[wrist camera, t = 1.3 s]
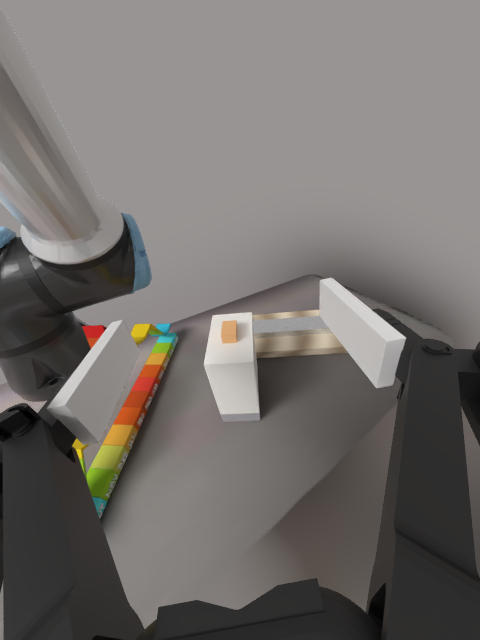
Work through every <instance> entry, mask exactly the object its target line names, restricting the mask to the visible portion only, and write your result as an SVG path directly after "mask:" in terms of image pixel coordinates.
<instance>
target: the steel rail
mask: <svg viewBox="0 0 480 640" xmlns="http://www.w3.org/2000/svg"><path fill="white" fill-rule="evenodd" d="M253 329H254V339H255V338H270V337H285V336H299V335H314V334H329V333H333V332H332V331H331V330H330V329H329V327H328V326H327V325H326V324H325V322H324V321H323V320H322V318H321V317H320V316H309V317H295V318H282V319H269V320H256V321H253Z"/></svg>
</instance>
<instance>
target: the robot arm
mask: <svg viewBox="0 0 480 640" xmlns="http://www.w3.org/2000/svg"><path fill="white" fill-rule="evenodd" d="M0 202H1V203H2V204H3V205H4V206H5V207H6V208H7V209H8V210H9V212H10V213H12V215H13V216H14V217H16V219H17V220H18V221H20V223H21V224H22V226H21V237H16V233H15V232H12V231H11V230H10V229H9V228H7V227H0V367H1V369H2V371H3V373H4V375H5V377H6V379H7V382H8V384H9V386H10V387H11V389H12V390H13V391H14V392H15V393H17V394H18V395H19V396H21V397H22V398H23V399H25V400H28V401H45V400H48V401H47V402H46V403H45V405H44V406H43V407H42V409H41V410H40V411H39V412H38V414H37V413H36V412H35V411H34V410H33V409H32V408H31V407H30V406H29V405H28V404H26V403H21V404H18V405H15V406H12V407H10V408H8V409H7V410H5V411H4V412H2V413H0V591H1V587H2V582H3V592H4V640H480V578H479V575H478V573H477V569H476V563H475V552H474V541H473V531H472V519H471V509H470V499H469V487H468V476H467V466H466V455H465V444H464V434H463V423H462V412H461V407H462V409H463V411H464V413H465V415H466V417H467V419H468V421H469V424H470V426H471V428H472V430H473V432H474V434H475V437H476V438H477V440H478V443H479V445H480V342H479V343H478V345H477V347H476V349H475V350H469V349H453V348H452V347H451V346H450V345H448V344H446V343H444V342H442V341H438V340H434V339H423V338H422V337H420V336H419V335H418V334H416V333H415V332H414V331H412V330H411V329H410V328H408V327H407V326H406V325H404V324H402V323H401V322H400V321H399V320H398V319H395V317H393V316H392V315H391V314H389V313H388V312H386V311H383V310H380V309H373V310H371V309H370V308H369V307H367V306H366V305H365V304H364V303H362V302H361V301H360V300H359V299H357V298H356V297H355V296H354V295H353V294H351V293H350V292H349V291H348V290H346V289H345V288H344V287H343V286H341V285H340V284H339V283H337V282H336V281H335V280H334V279H333V278H328V279H323V280H320V312H319V316H320V317H321V318H322V320H323V321H324V322H325V324H326V325H327V326H328V327H329V329H330V330H331V331H332V332H333V334H334V335H335V336H336V338H337V339H338V340H339V341H340V343H341V344H342V345H343V346H344V348H345V349H346V350H347V352H348V353H349V354H350V355H351V357H352V358H353V359H354V360H355V362H356V363H357V364H358V366H359V367H360V368H361V369H362V371H363V372H364V373H365V374H366V376H367V377H368V378H369V380H370V381H371V382H372V383H373V385H374V386H375V387H376V388H381V387H386V386H391V385H393V383H394V379H395V376H396V377H397V378H398V379H399V380H400V381H401V382H402V383H401V387H400V390H399V393H398V396H397V399H399V400H398V407H397V414H396V420H395V427H394V435H393V441H392V449H391V455H390V462H389V469H388V476H387V484H386V490H385V497H384V504H383V511H382V518H381V525H380V532H379V539H378V547H377V553H376V558H375V563H374V567H373V571H372V576H371V581H370V587H369V594H368V601H367V607H366V612H364V611H363V610H362V609H361V608H360V607H359V606H357V605H356V604H355V603H354V602H352V601H351V600H350V599H348V598H346V597H345V596H343V595H341V594H340V593H338V592H335V591H333V590H330V589H328V588H324V587H319V585H318V581H317V578H315V579H310V580H304V581H299V582H294V583H288V584H283V585H278V586H276V587H274V588H273V589H271V590H270V591H268V592H267V593H265V594H264V595H262V596H261V597H259V598H257V599H256V600H254V601H253V602H251V603H250V604H248V605H246V606H245V607H243V608H242V609H239V610H233V609H229V608H226V607H222V606H218V605H214V604H210V603H206V602H202V601H198V600H195V601H190V602H184V603H179V604H173V605H168V606H162V607H159V608H158V615H157V620H155V621H154V622H153V623H152V624H150V625H149V626H148V627H147V628H146V629H145V630H144V627H143V625H142V623H141V621H140V619H139V617H138V615H137V614H136V613H135V611H134V610H133V609H132V607H131V606H130V604H129V602H128V600H127V598H126V595H125V592H124V590H123V587H122V584H121V581H120V578H119V575H118V572H117V569H116V566H115V563H114V560H113V557H112V554H111V551H110V548H109V545H108V542H107V539H106V536H105V533H104V530H103V528H102V525H101V522H100V519H99V516H98V513H97V510H96V507H95V504H94V501H93V498H92V495H91V492H90V489H89V486H88V483H87V480H86V477H85V474H84V471H83V468H82V466H81V463H80V460H79V457H78V454H77V451H76V449H75V448H74V447H73V446H72V445H73V443H74V442H75V440H76V438H77V439H78V440H79V441H80V442H81V443H82V444H83V445H87V444H93V443H98V442H100V440H101V438H102V435H103V433H104V431H105V429H106V426H107V424H108V422H109V420H110V418H111V415H112V413H113V411H114V409H115V406H116V404H117V402H118V400H119V398H120V395H121V393H122V391H123V389H124V386H125V384H126V382H127V380H128V378H129V375H130V373H131V371H132V369H133V366H134V364H135V362H136V360H137V358H138V355H139V353H140V350H139V348H138V346H137V345H136V343H135V341H134V339H133V337H132V335H131V333H130V332H129V330H128V328H127V326H126V324H125V322H124V321H123V320H119V321H115V322H111V324H110V325H109V326H108V328H107V329H106V330H105V332H104V333H103V334H102V336H101V337H100V338H99V339H98V341H97V342H96V343H95V345H94V346H93V347H92V349H91V348H90V345H89V343H88V340H87V338H86V335H85V333H84V330H83V327H82V326H89V325H88V324H86V323H85V322H83V321H81V320H80V319H79V318H77V317H76V316H75V315H74V314H73V312H72V311H75V310H77V309H81V308H84V307H87V306H91V305H94V304H97V303H100V302H104V301H107V300H110V299H114V298H117V297H120V296H123V295H127V294H132V293H134V292H135V291H137V290H140V289H142V288H145V287H147V286H148V285H149V284H150V282H151V278H152V276H151V269H150V265H149V261H148V257H147V254H146V253H145V247H144V243H143V240H142V237H141V234H140V231H139V229H138V226H137V224H136V222H135V220H134V218H133V217H132V216H131V215H130V214H123V213H120V211H119V210H118V208H117V207H116V206H115V205H114V204H113V203H111V202H110V201H109V200H107V199H105V198H103V197H101V196H98V194H97V192H96V190H95V188H94V186H93V184H92V182H91V180H90V178H89V176H88V174H87V172H86V170H85V168H84V166H83V164H82V162H81V160H80V159H79V157H78V154H77V152H76V150H75V148H74V146H73V144H72V142H71V140H70V139H69V137H68V135H67V133H66V131H65V129H64V127H63V125H62V123H61V121H60V119H59V117H58V115H57V113H56V111H55V109H54V108H53V105H52V103H51V101H50V99H49V97H48V95H47V93H46V91H45V89H44V88H43V86H42V84H41V82H40V80H39V78H38V76H37V74H36V72H35V70H34V68H33V66H32V64H31V62H30V60H29V58H28V56H27V54H26V52H25V50H24V48H23V46H22V44H21V42H20V40H19V39H18V36H17V34H16V33H15V31H14V29H13V27H12V25H11V23H10V21H9V19H8V17H7V15H6V13H5V11H4V9H3V7H2V5H1V3H0Z"/></svg>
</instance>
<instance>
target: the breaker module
mask: <svg viewBox="0 0 480 640" xmlns="http://www.w3.org/2000/svg"><path fill="white" fill-rule="evenodd" d="M204 367H205V370H206V373H207V376H208V379H209V382H210V385H211V388H212V391H213V394H214V397H215V399H216V402H217V405H218V408H219V411H220V414H221V417H222V420H223V422H233V421H260V407H259V393H258V367H257V358H256V348H255V339H254V329H253V319H252V312H248V313H236V314H223V315H213V317H212V322H211V328H210V333H209V339H208V344H207V350H206V355H205V360H204Z"/></svg>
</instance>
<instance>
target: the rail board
mask: <svg viewBox="0 0 480 640" xmlns="http://www.w3.org/2000/svg"><path fill="white" fill-rule="evenodd" d="M319 312H320V310H310V311H297V312H284V313H271V314H258V315H252V319H253V321H256V320H269V319H282V318H295V317H309V316H319ZM255 348H256V358H269V357H286V356H302V355H319V354H336V353H348V352H347V350H346V349H345V348H344V346H343V345H342V344H341V343H340V341H339V340H338V339H337V338H336V336H335V335H334V334H333V333H329V334H314V335H299V336H285V337H270V338H255Z"/></svg>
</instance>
